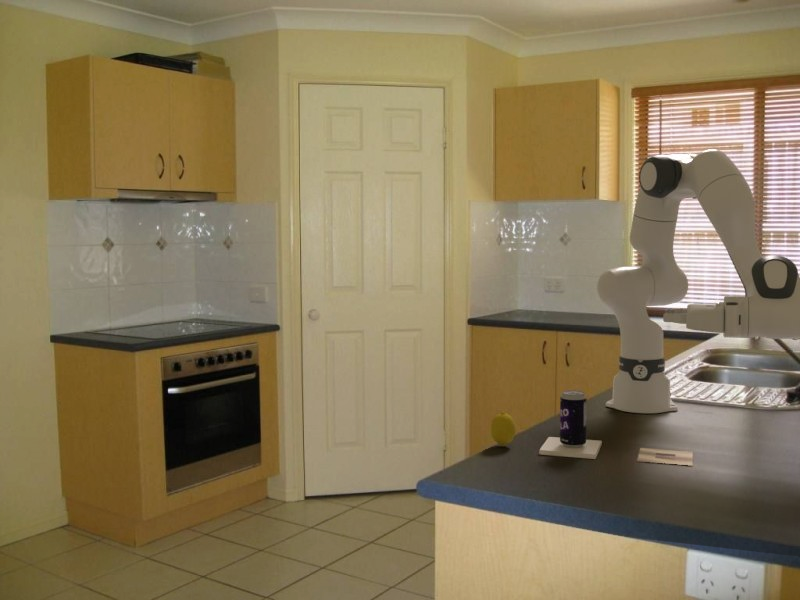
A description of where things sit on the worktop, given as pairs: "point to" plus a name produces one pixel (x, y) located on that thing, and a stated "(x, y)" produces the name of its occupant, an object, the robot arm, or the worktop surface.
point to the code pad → (665, 456)
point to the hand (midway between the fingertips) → (664, 315)
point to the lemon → (503, 428)
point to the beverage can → (573, 419)
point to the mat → (570, 449)
